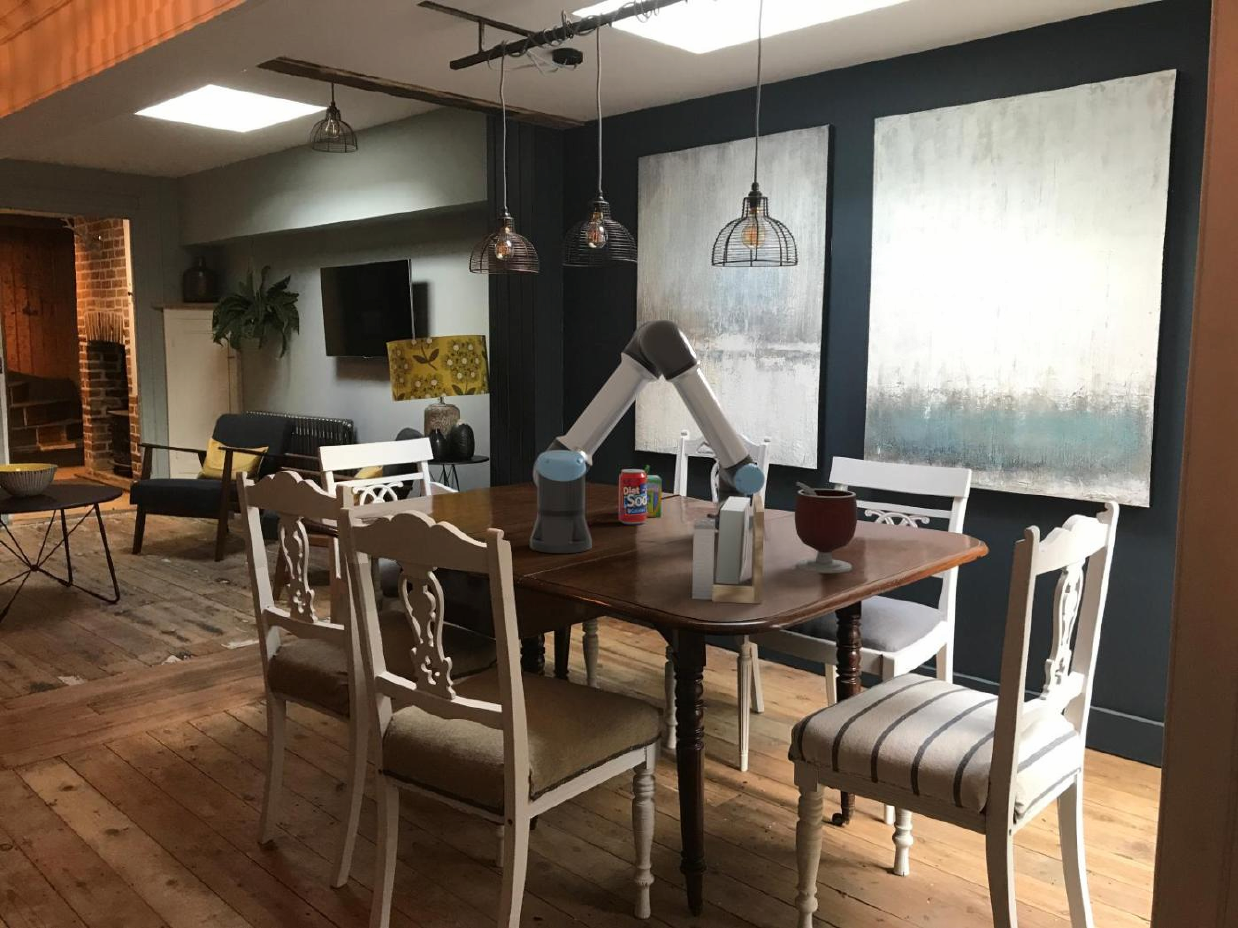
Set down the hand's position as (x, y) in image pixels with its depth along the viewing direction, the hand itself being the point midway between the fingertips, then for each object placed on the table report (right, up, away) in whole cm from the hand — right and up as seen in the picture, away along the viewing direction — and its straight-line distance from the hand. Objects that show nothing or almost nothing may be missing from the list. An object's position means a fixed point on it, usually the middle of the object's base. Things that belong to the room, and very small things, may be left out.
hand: (732, 531), depth 232 cm
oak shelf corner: (-3, -10, -26) cm, 28 cm away
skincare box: (-1, -9, -12) cm, 15 cm away
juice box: (-19, 0, +63) cm, 66 cm away
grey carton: (-10, -10, -31) cm, 34 cm away
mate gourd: (+19, -8, -5) cm, 22 cm away
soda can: (-23, -1, +50) cm, 55 cm away
